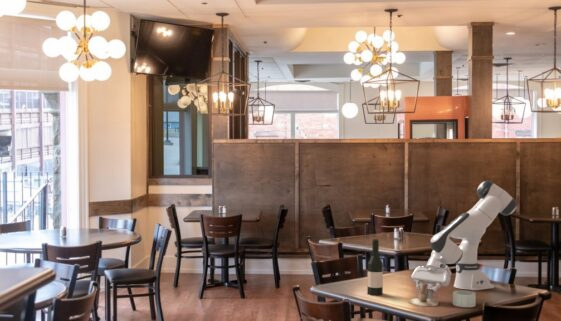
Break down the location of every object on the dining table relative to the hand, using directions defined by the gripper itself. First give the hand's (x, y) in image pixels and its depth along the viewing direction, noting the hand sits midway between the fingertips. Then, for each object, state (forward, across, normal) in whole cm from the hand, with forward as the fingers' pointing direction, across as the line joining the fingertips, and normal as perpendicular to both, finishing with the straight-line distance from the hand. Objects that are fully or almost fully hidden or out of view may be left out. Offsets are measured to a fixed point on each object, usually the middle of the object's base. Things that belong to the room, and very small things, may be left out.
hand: (425, 289), depth 348 cm
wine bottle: (+4, -31, +6) cm, 31 cm away
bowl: (-2, +17, +11) cm, 20 cm away
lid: (+6, -1, +4) cm, 7 cm away
